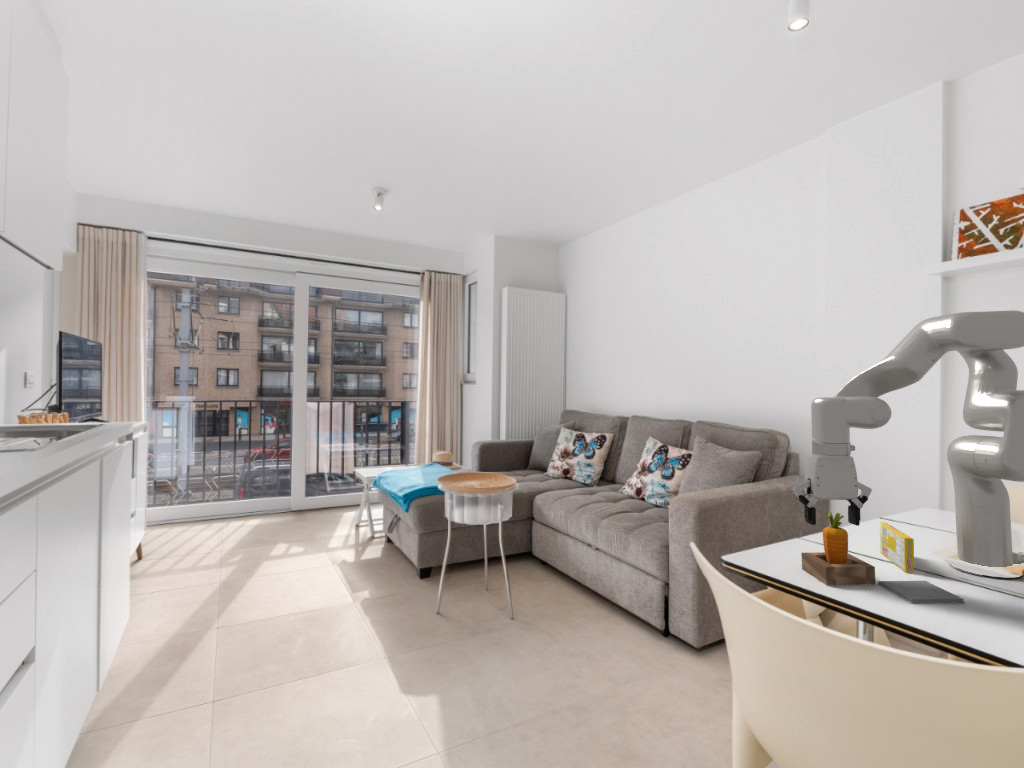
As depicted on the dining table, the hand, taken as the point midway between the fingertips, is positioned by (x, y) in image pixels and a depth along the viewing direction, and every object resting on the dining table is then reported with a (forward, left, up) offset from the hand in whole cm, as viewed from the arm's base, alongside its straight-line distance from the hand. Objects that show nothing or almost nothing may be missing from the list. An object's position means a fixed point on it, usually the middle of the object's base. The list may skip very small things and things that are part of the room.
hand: (832, 523), depth 117 cm
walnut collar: (-1, 0, -12) cm, 12 cm away
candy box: (-21, -10, -13) cm, 26 cm away
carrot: (-1, 0, -12) cm, 12 cm away
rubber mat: (-12, +10, -12) cm, 20 cm away
